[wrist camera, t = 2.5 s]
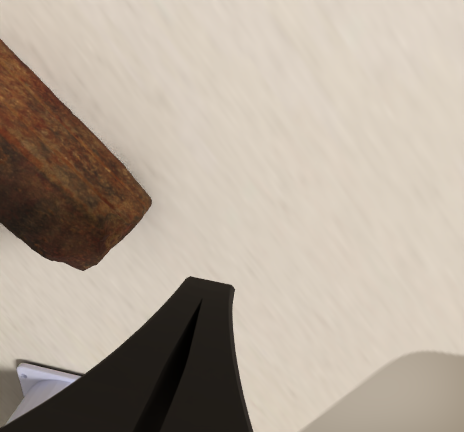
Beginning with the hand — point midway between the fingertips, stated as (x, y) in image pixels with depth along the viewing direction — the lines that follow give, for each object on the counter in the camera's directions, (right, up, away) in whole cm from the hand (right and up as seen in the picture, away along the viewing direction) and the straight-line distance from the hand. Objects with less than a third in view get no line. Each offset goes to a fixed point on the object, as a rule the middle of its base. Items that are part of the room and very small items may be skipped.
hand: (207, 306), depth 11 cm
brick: (-8, +7, +8) cm, 13 cm away
